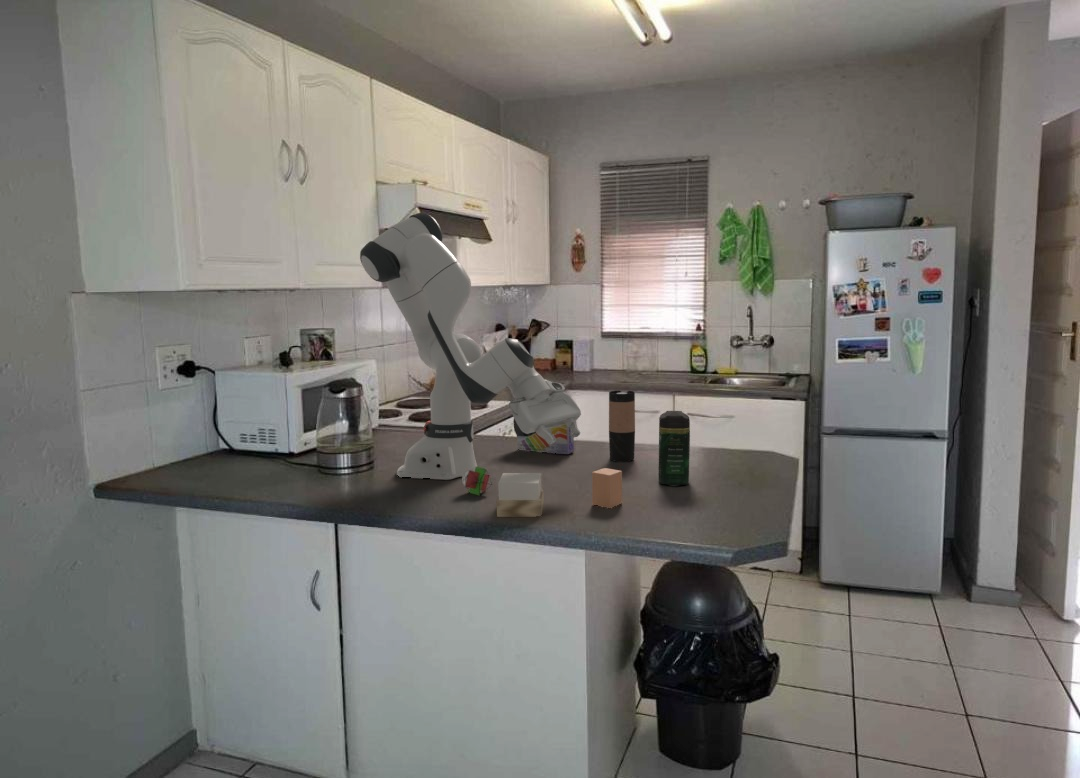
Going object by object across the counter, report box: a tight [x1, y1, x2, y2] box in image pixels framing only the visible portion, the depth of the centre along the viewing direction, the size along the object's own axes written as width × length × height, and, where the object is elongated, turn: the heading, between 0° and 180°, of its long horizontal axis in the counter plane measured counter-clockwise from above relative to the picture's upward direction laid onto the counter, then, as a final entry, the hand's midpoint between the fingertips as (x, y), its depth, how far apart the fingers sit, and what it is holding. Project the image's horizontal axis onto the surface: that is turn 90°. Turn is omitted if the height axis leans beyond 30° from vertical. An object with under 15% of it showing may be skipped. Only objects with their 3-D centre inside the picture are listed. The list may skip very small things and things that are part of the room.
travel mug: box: [608, 390, 636, 462], centre depth 223 cm, size 8×8×20 cm
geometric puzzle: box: [461, 466, 493, 497], centre depth 190 cm, size 7×7×8 cm
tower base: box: [496, 488, 545, 518], centre depth 176 cm, size 10×10×4 cm
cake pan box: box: [512, 418, 575, 455], centre depth 235 cm, size 19×5×18 cm, turn 61°
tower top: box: [497, 472, 542, 500], centre depth 175 cm, size 9×9×4 cm
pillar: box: [591, 467, 623, 509], centre depth 178 cm, size 5×5×8 cm
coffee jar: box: [658, 410, 691, 487], centre depth 197 cm, size 10×8×19 cm
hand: (565, 439), depth 185 cm, fingers open, 8 cm apart
